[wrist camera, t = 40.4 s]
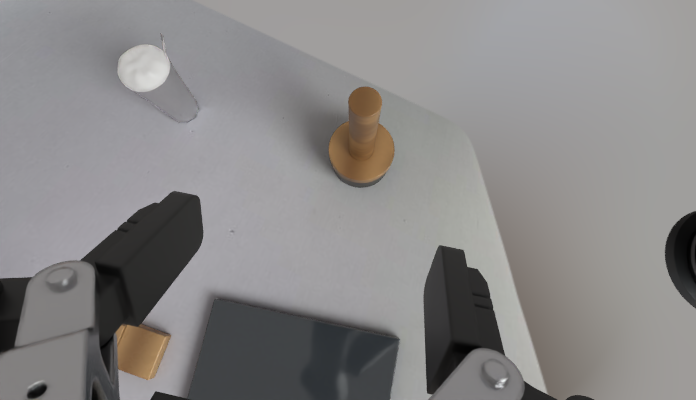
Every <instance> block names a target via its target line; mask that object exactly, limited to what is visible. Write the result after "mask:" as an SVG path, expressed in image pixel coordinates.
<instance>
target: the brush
mask: <svg viewBox="0 0 696 400" xmlns="http://www.w3.org/2000/svg"><path fill="white" fill-rule="evenodd" d="M348 106H349V121H348V122H346V123H344V124H342V125H341V126H339V127H338V128H337V129H336V131H335V132H334V133H333V135H332V137H331V139H330V143H329V157H330V161H331V164H332V166H333V168H334V171H335V173H336V174H337V176H338V177H339V178H340V179H341V180H342V181H343V182H344V183H346V184H348V185H350V186H353V187H359V188H361V187H368V186H371V185H374V184H376V183H377V182H379V181H380V180H381V179H382V178H383V176H384V175H385V173H386V172H387V170H388V169H389V167H390V165H391V163H392V160H393V157H394V142H393V139H392V137H391V135H390V134H389V132H388V131H387V130H386V128H384V127H383V126H382V125H381V124H379V117H380V112H381V106H382V99H381V96H380V94H379V93H378V92H377V91H376V90H375V89H373V88H370V87H360V88H357V89H356V90H354V91H353V92H352V93H351V95H350V97H349V101H348Z"/></svg>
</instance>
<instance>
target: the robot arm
mask: <svg viewBox="0 0 696 400" xmlns="http://www.w3.org/2000/svg"><path fill="white" fill-rule="evenodd" d="M202 239H203V224H202V215H201V205H200V199H199V197H198V196H197V195H192V194H187V193H182V192H177V191H173V192H171V193H170V194H169V195H168V196H167V197H166V198H164V199H163V200H162V201H161V202H160V203H153V204H151V205H149V206H146V207H144V208H142V209H140V210H138V211H137V212H136V213H135V214H134V215H132V216H131V217H130V218H129V219H128V220H127V222H124V223H123V224H122V225H121V226H120V227H118V230H115V231H114V232H113V233H112V234H110V235H109V236H108V237H107V238H106V239H105V240H103V241H102V242H101V243H100V244H99V245H98V246H96V247H95V248H94V249H93V250H92V251H91V252H89V253H88V254H87V255H86V256H85V257H84V258H82V259H81V260H80V261H65V262H60V263H57V264H54V265H51V266H49V267H47V268H45V269H43V270H41V271H40V272H38V273H37V274H36V275H35V276H33V277H27V278H3V279H0V400H120V397H119V380H118V350H117V335H116V331H117V330H118V329H119V327H120V326H121V325H122V324H126V325H130V326H135V327H139V325H140V324H141V323H142V322H143V320H144V319H145V318H146V316H147V315H148V314H149V313H150V311H151V310H152V309H153V307H154V306H155V305H156V304H157V302H158V301H159V300H160V298H161V297H162V296H163V295H164V293H165V292H166V291H167V289H168V288H169V287H170V286H171V284H172V283H173V282H174V280H175V279H176V278H177V277H178V275H179V274H180V273H181V271H182V270H183V269H184V268H185V266H186V265H187V264H188V262H189V261H190V260H191V259H192V257H193V256H194V255H195V253H196V252H197V251H198V249H199V248H200V245H201V243H202ZM687 262H688V266H689V269H690V272H691V275H692V277H693V278H694V280H695V282H696V230H695V231H694V233H693V234H692V236H691V238H690V240H689V243H688V247H687ZM424 324H425V352H426V379H427V393H429V394H433V395H432V396H431V397H430V398H429V400H557V399H555V398H553V397H551V396H549V395H547V394H545V393H543V392H541V391H539V390H537V389H536V388H534V387H532V386H530V385H529V384H528V383H526V382H525V381H524V380H523V377H522V375H521V373H520V371H519V370H518V368H517V367H516V366H515V364H514V363H513V362H512V361H511V360H510V359H508V358H507V357H506V356H505V354H504V350H503V346H502V341H501V337H500V333H499V329H498V325H497V321H496V317H495V313H494V310H493V305H492V301H491V299H490V293H489V288H488V284H487V282H486V280H485V279H484V278H483V276H482V275H481V273H480V272H479V271H478V269H474V268H469V267H467V264H466V258H465V253H464V251H463V250H461V249H456V248H451V247H446V246H441V245H440V246H439V247H438V249H437V251H436V254H435V257H434V259H433V262H432V265H431V268H430V271H429V273H428V276H427V279H426V283H425V288H424ZM151 400H190V399H186V398H182V397H178V396H173V395H169V394H165V393H160V392H155V393H154V395H153V396H152V398H151ZM566 400H594V399H591V398H589V397H586V396H581V395H575V396H571V397H569V398H567V399H566Z"/></svg>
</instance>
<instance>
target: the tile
mask: <svg viewBox="0 0 696 400" xmlns="http://www.w3.org/2000/svg"><path fill="white" fill-rule="evenodd" d="M399 343H400V339H399V338H398V337H394V336H389V335H384V334H380V333H375V332H371V331H366V330H361V329H357V328H352V327H347V326H343V325H338V324H334V323H329V322H324V321H320V320H315V319H311V318H306V317H301V316H297V315H292V314H287V313H283V312H278V311H274V310H269V309H264V308H260V307H255V306H251V305H246V304H241V303H237V302H232V301H227V300H223V299H215V300H214V304H213V307H212V311H211V315H210V318H209V322H208V325H207V329H206V333H205V336H204V340H203V344H202V347H201V351H200V355H199V358H198V362H197V366H196V369H195V373H194V376H193V380H192V384H191V387H190V391H189V395H188V398H187V399H190V400H390V398H391V392H392V386H393V380H394V373H395V367H396V361H397V355H398V349H399Z"/></svg>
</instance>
